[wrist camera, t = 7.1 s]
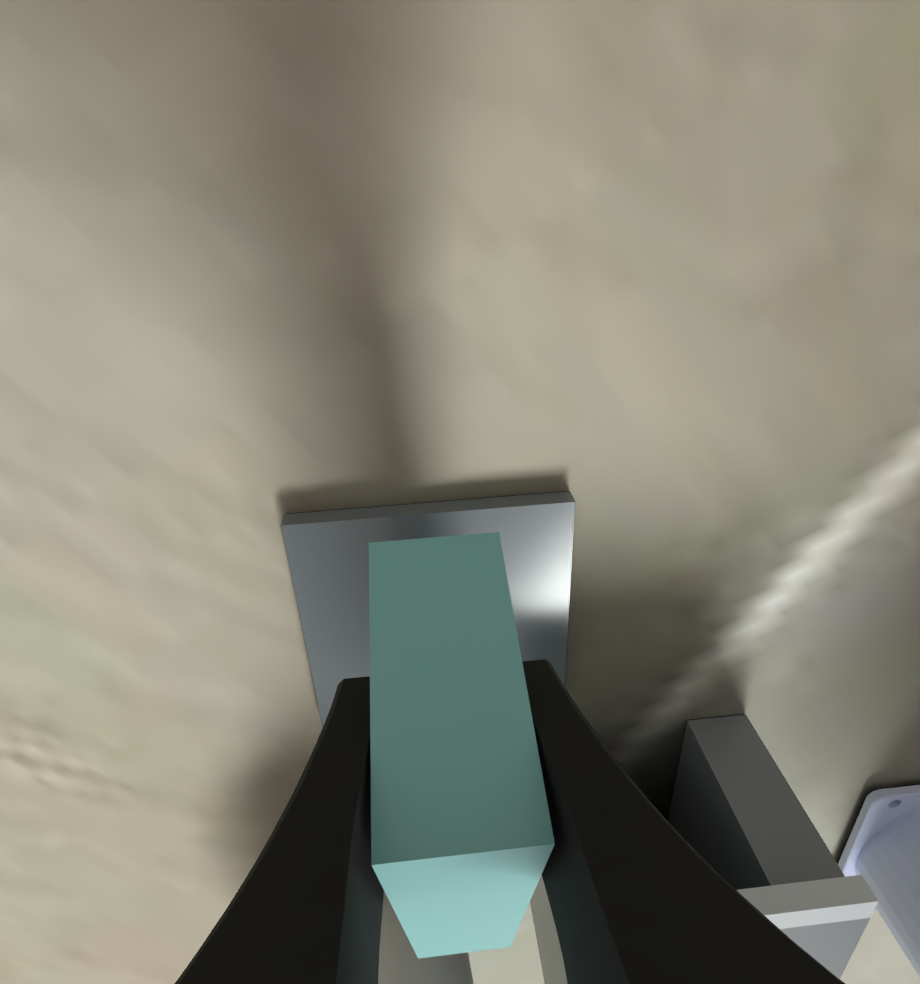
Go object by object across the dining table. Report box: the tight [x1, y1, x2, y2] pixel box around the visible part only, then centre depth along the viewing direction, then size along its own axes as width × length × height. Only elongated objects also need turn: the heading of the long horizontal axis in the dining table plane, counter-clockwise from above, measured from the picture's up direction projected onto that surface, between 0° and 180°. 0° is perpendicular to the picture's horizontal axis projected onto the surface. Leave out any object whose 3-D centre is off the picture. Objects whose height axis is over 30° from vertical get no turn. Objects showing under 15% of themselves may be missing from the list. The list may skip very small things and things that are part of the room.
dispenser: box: [530, 715, 879, 984], centre depth 22 cm, size 8×10×7 cm
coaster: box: [281, 491, 575, 726], centre depth 19 cm, size 8×8×1 cm
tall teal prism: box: [369, 532, 555, 959], centre depth 14 cm, size 2×11×5 cm, turn 2°
